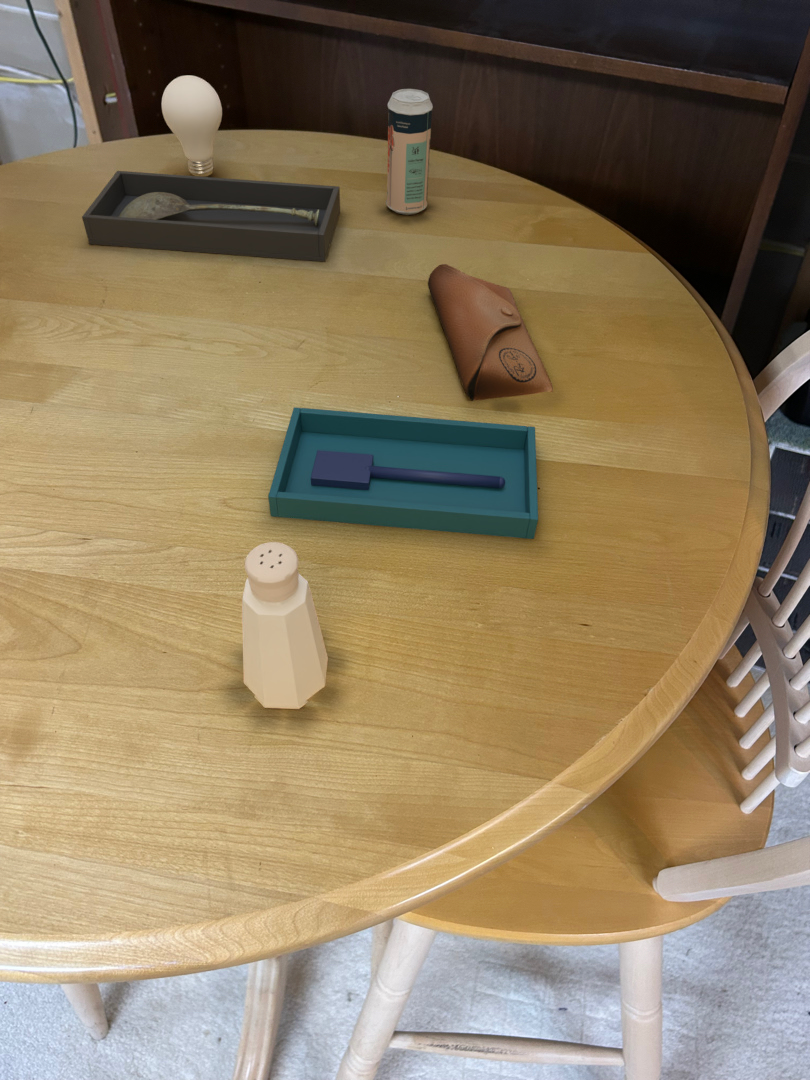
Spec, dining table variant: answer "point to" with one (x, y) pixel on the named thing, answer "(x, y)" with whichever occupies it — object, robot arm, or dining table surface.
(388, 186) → the beer can
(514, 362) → the sunglasses case
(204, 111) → the light bulb
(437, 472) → the navy spatula
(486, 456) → the teal tray
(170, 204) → the soupspoon
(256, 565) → the pepper shaker
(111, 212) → the grey tray
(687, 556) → the dining table surface
